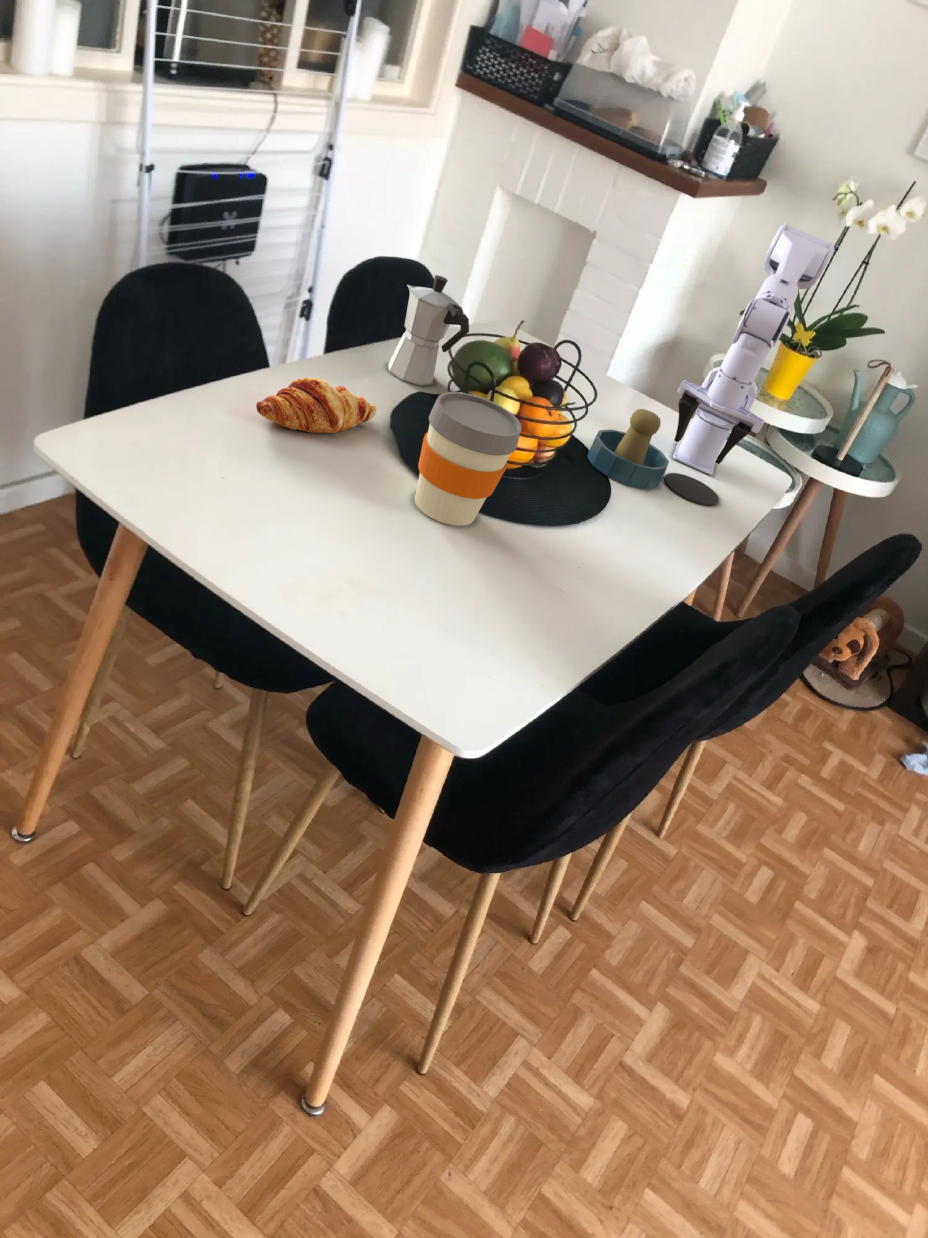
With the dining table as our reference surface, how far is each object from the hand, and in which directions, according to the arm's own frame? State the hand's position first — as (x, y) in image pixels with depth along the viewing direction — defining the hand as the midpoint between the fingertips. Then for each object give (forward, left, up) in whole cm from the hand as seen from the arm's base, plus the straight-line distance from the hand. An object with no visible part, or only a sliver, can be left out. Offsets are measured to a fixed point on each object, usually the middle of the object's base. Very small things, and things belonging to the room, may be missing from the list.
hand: (697, 451), depth 166 cm
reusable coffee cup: (+37, -30, -10) cm, 49 cm away
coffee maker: (-5, -50, -10) cm, 52 cm away
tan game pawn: (-6, -10, -10) cm, 15 cm away
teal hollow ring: (-6, -10, -10) cm, 15 cm away
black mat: (-10, +3, -10) cm, 14 cm away
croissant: (+29, -54, -10) cm, 63 cm away
